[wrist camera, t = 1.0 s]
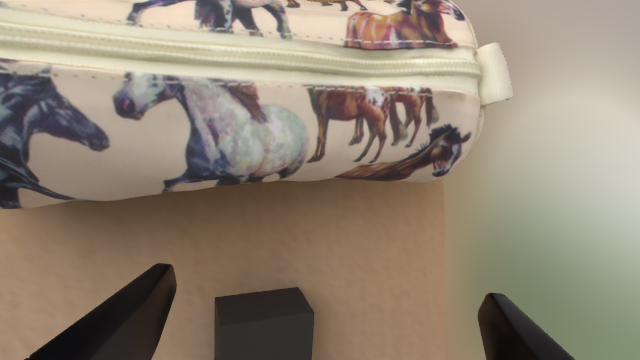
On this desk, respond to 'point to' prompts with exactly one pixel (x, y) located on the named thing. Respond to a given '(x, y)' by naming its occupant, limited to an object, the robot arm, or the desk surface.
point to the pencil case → (234, 94)
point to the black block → (264, 326)
